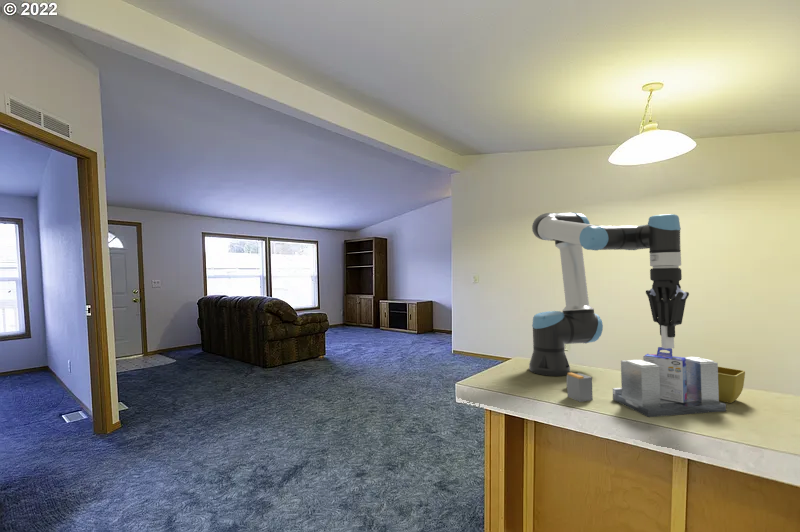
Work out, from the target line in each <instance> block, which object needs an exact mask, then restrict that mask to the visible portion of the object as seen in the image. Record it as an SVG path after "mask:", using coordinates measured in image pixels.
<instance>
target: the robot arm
mask: <svg viewBox="0 0 800 532" xmlns="http://www.w3.org/2000/svg"><path fill="white" fill-rule="evenodd" d="M680 223H681V222H680V217H679V215H677V214H675V213H674V214H673V213H668V214H667V213H664V214H657V215H652V216H649V218H648V222H647V224H643V225H642V224H641V225H613V226H612V225H599V224H591V223H590V221H589V219H588V217H587V216H586V215H584V214H583V213H581V212H580V213H579V212H574V211H573V212H546V213H542V214H540V215H538V216H537V217H536V218H535V219H534V220H533V223H532V225H531V231H532V234H534V236H535V238H538V239H539V240H542V241H548V242H549V241H551V242H552V241H554V244H555V245H554V246H555V247H556V248H557V249H559V254H560V255H559V256H560V263H561V265H560V266H561V275H562V282H563V289H564V290H563V291H564V301H565V307H564V308H563V309H562V311H560V310H559V311H558V310H551V311H542V312H539V313H536V314H534V316H533V317H532V325H531V326H532V345H533V346H532V348H533V350H532V354H531V357H530V361H529V362H528V363H529V364H528V367H529V371H530V372H531V373H534V374H537V375H541V376H548V377H549V376H550V377H562V376H567V375H568V373H571V367H570V366H571V365H570V363H569V361H568V358H567V354H566V351H565V345H569V344H588V343H595V342H597V341H598V340H599V339H600V337H601V336H602V333H603V329H604V325H603V320H602V319H601V317H600V315H599V314H597V313H595V309H594V308H593V306H591V305H590V301H589V294H588V285H587V284H588V283H587V277H586V269H585V261H584V253H583V249H584V250H589V251H604V250H605V251H607V250H610V251H611V250H614V251H615V250H621V251H622V250H623V251H624V250H625V251H637V250H646V249H649V266H650V267H652V268H650V269H649V275H650V276H649V278H650V281H652V285H651V288H650V289H647V290H645V294H646V296H647V298H648V301H649V307H650V311H651V315H652V316H651V317H652V320H653V322H654V323H657V324H658V325H659V335H660V338H661V347H662V348H665V349H668V348H671V349H675V337H676V326H680V325H682V324H683V319H684V318H683V317H684V315H685V314H684V312H685V307H686V301H687V299H688V298H689V295H690V293H689V291H684V290H683V289H681V288H682V286H681V284H680V282H681V281H682V277H683V276H682V269H681V266H682V256H681V255H682V253H681V224H680Z"/></svg>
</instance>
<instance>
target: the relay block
mask: <svg viewBox="0 0 800 532" xmlns="http://www.w3.org/2000/svg"><path fill="white" fill-rule="evenodd" d="M575 373H576V372H572V371H570V373H568V375H566V389H567V397H568V398H570V399H571V398H572V400H574V401H576V402H578V401H579V403H581V402H587V401H589V402H590V401H593V397H594V396H593V377H592V376H589V375H586V374H583V373H576V374H575Z"/></svg>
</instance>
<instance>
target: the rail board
mask: <svg viewBox="0 0 800 532" xmlns="http://www.w3.org/2000/svg"><path fill="white" fill-rule="evenodd" d="M684 357H685V358H686V378H687V400H686V401H685V402H684V403H680V402H675V401H670V400H665V399H660V375H659V366H657V365H656V364H653V363H650V362H646V361H644V359H643V360H642V359H627V360H626V359H625V360H624V359H623V360H620V374H621V375H620V378H621V379H620V380H621V387H613V388H612V401H614V402H617V403H619V404H621V405H623V406H624V407H627V408H629V409H631V410H633V411H635V412H637V413H639V414H641V415H643V416H645V417H647V418H655V417H665V416H669V417H670V416H679V415H690V414H691V415H693V414H705V413H706V414H707V413H718V412H719V413H720V412H727V406H726V405H727V404H726V402H723V401H719V390H718V367H719V363H718V362H715V361H714V360H712V359H707V358H703V357H699V356H684Z"/></svg>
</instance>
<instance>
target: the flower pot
mask: <svg viewBox="0 0 800 532" xmlns="http://www.w3.org/2000/svg"><path fill="white" fill-rule="evenodd" d="M745 376H746V371H745V370H741V369H736V368H730V367H729V368H728V367H723V366H718V390H719V402H722V403H727V404H731V403H733V402H735V401H737V400H738V398H739V397H740V395H741V394H742V392H743V390H744V386H745V378H746V377H745Z"/></svg>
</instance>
